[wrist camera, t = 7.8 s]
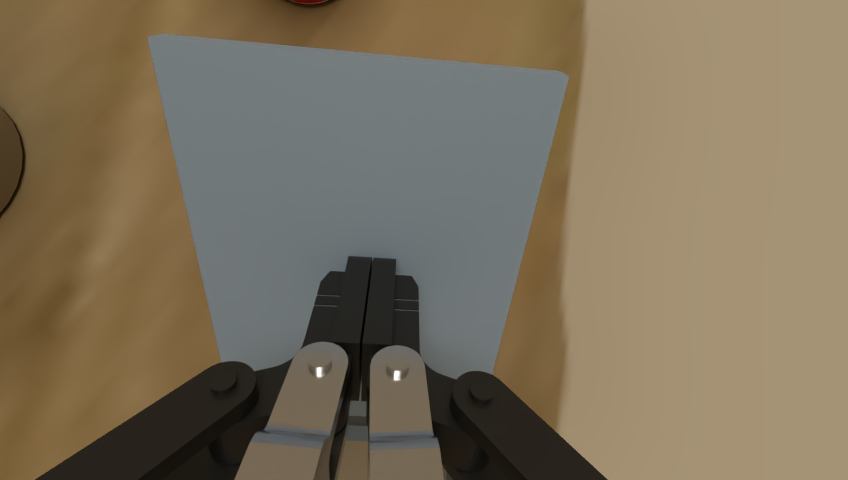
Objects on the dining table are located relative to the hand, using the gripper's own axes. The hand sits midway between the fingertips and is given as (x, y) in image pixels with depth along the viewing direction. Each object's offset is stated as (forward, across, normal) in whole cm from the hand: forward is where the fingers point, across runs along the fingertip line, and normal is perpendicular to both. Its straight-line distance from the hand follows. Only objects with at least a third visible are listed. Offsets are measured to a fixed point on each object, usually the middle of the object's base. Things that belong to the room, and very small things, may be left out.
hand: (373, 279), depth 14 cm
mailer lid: (0, 0, 0) cm, 0 cm away
